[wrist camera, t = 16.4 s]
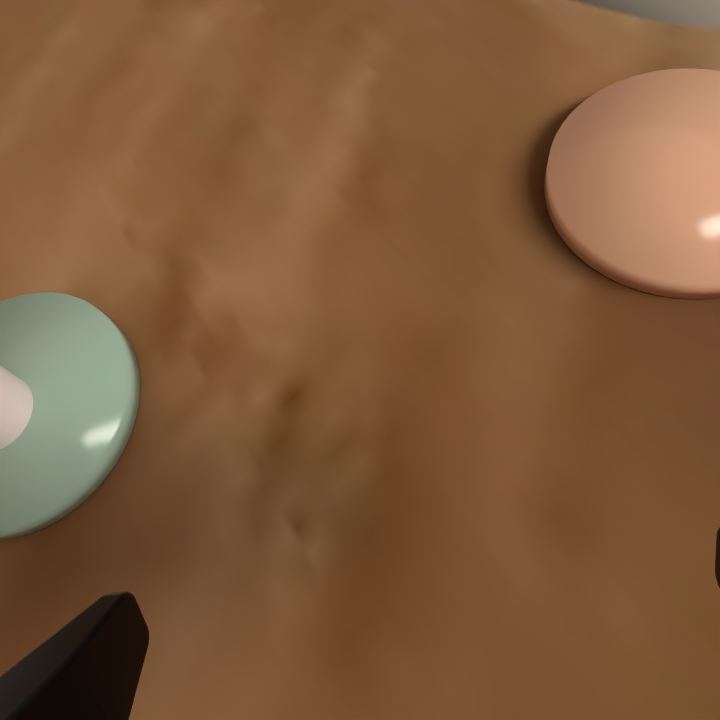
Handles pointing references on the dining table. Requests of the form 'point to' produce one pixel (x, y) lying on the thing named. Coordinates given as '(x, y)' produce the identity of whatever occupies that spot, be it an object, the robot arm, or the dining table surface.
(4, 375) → the smoothie
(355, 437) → the dining table surface
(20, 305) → the green dish
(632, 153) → the terracotta dish
